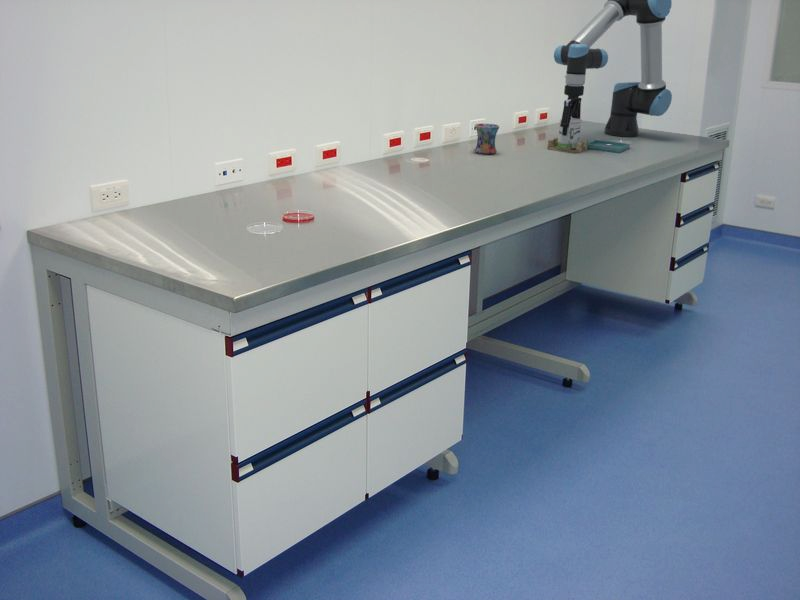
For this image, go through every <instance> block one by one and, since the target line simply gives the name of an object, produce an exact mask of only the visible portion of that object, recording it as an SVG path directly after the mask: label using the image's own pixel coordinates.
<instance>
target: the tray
mask: <svg viewBox="0 0 800 600" xmlns="http://www.w3.org/2000/svg"><path fill="white" fill-rule="evenodd" d="M606 144H612V145H606ZM630 145H631V144H630V143H625V142H617V141H609V140H602V139H592V140H590V141H588V145H587V149H586V150H592V151H593V150H594V151H602V152H608V153H609V152H610V153H615V154H616V153H617V154H620V153H623V152H624V151H627V150H629V149H630Z"/></svg>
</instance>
